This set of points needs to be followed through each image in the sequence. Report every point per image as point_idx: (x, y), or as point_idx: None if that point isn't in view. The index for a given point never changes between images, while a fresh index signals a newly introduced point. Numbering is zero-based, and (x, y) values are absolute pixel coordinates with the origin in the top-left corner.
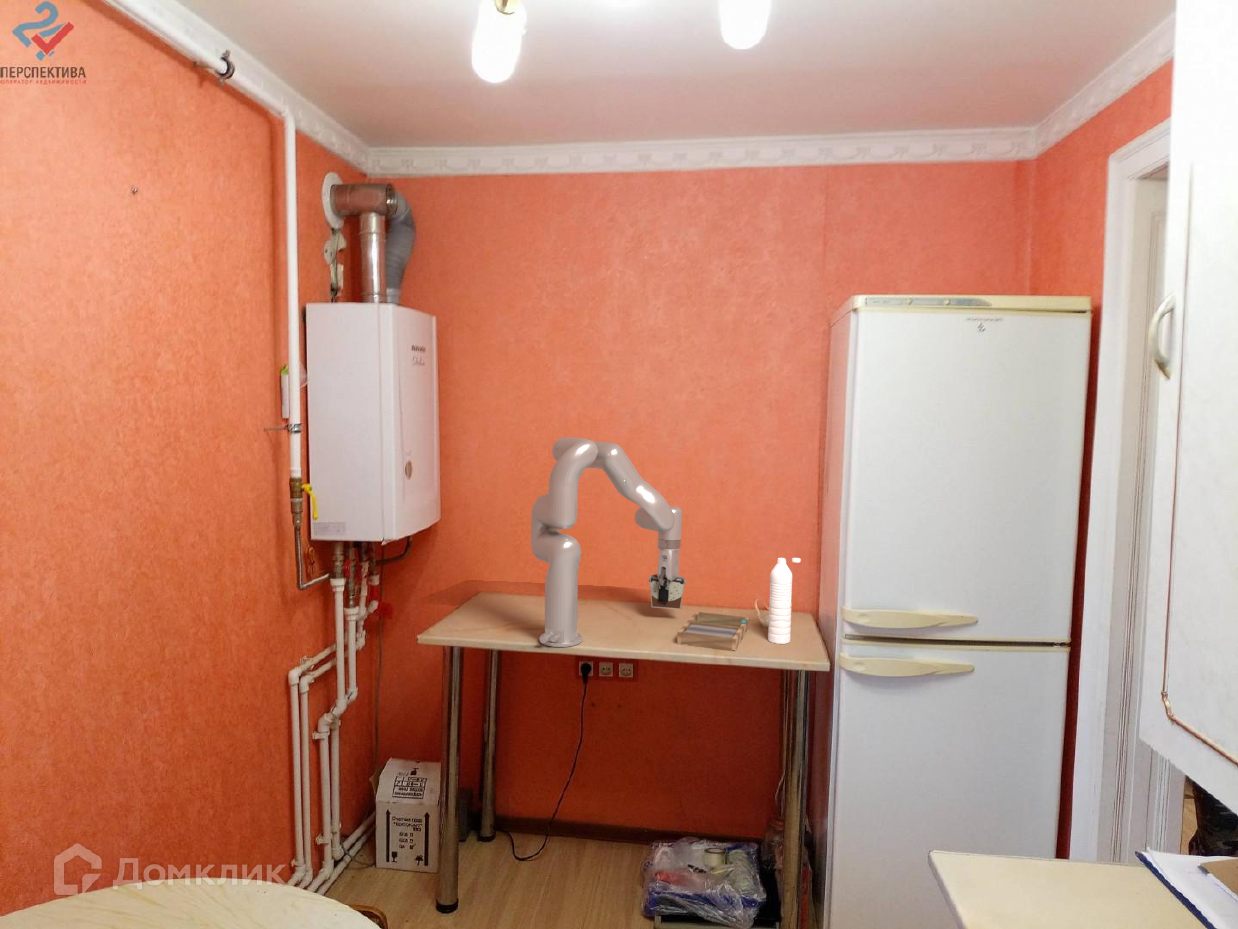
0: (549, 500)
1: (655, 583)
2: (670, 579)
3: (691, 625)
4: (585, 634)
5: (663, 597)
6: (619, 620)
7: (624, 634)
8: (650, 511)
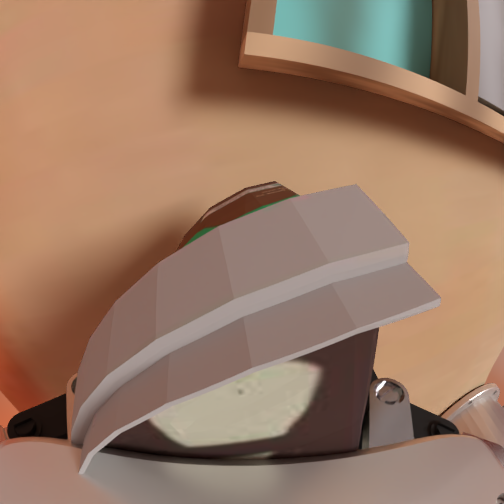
0: None
1: None
2: (486, 446)
3: (490, 97)
4: (434, 407)
5: None
6: None
7: (449, 338)
8: None
